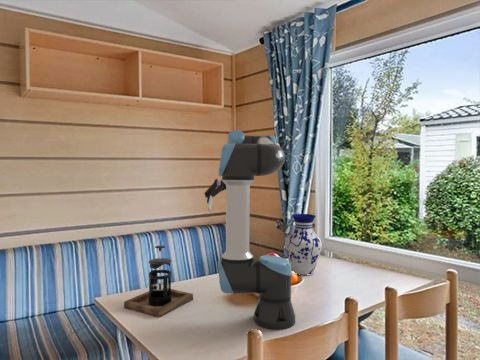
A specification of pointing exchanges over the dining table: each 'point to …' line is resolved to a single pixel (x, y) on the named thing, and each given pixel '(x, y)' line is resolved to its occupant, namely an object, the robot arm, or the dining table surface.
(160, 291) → the french press
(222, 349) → the dining table surface
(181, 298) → the walnut tray
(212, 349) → the dining table surface
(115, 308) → the dining table surface
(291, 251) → the vase
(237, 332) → the dining table surface
